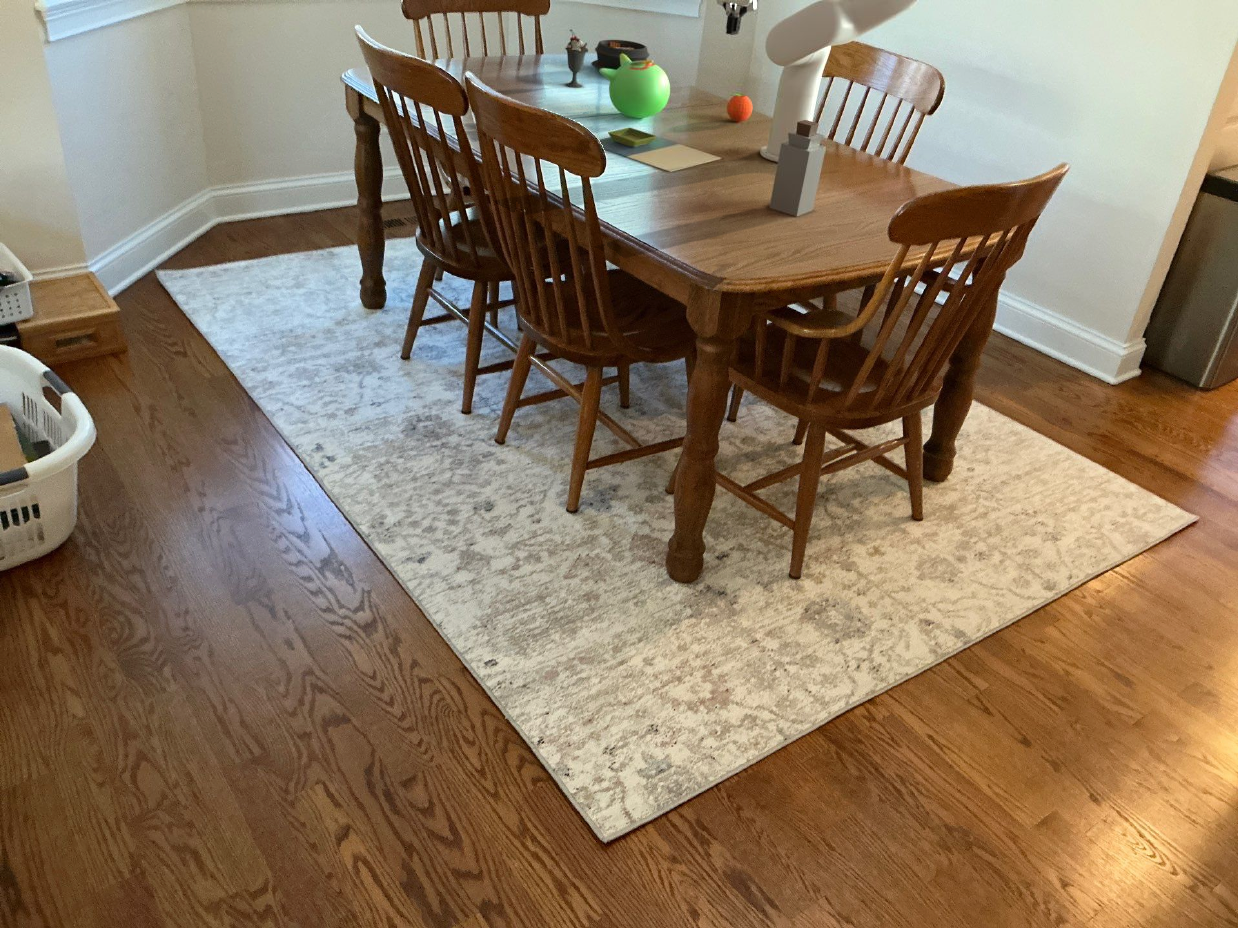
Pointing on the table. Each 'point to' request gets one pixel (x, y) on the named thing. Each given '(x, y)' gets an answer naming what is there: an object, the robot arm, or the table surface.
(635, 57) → the casserole
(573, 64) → the sundae
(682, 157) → the placemat
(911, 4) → the robot arm
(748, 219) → the table surface
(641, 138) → the green square dish
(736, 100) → the clementine
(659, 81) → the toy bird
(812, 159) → the perfume bottle
